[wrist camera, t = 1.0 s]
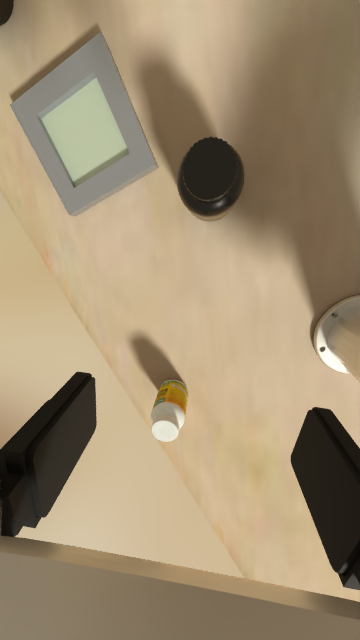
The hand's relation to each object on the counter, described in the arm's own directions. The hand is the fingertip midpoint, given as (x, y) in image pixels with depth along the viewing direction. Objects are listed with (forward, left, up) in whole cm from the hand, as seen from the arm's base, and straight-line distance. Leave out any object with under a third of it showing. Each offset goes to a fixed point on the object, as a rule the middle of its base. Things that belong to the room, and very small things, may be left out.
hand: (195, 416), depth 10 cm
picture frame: (+6, -25, -27) cm, 37 cm away
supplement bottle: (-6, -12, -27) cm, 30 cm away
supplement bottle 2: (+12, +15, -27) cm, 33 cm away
